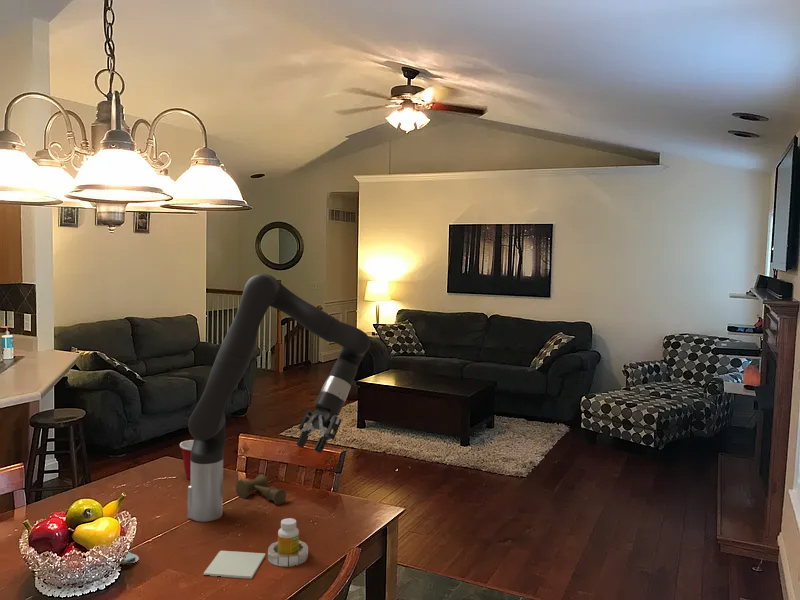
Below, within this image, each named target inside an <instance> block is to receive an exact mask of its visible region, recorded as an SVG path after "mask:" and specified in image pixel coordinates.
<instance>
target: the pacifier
mask: <svg viewBox="0 0 800 600" xmlns="http://www.w3.org/2000/svg"><path fill="white" fill-rule="evenodd" d="M138 560H139V561H140V557H139V556H138V555H137V554H134V553H131V552H130V551H128V554H127V555H126V558H125V559H124V561H123V562H122V563H135V562H137V561H138ZM139 561H138V562H139ZM138 562H137V563H138ZM135 564H136V563H135Z"/></svg>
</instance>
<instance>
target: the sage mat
mask: <svg viewBox="0 0 800 600" xmlns="http://www.w3.org/2000/svg"><path fill="white" fill-rule="evenodd" d="M265 557H266V553H263V552H249V551H236V550H235V551H234V550H233V551H232V550H230V551H229V550H220V551H219V552H218V553H217V554H216V556H215V557H214V559H213V560H212V561H211V562H210V564H209V565H208V567H206V569H205V571H204V572H203V575H210V576H209V577H217V576H221V577H220V578H234V579H250V580H252V579H253V577H254V575H255V574H256V573H257V571H258V569H259V567H260V565H261V564H262V562H263V560H264V559H265Z"/></svg>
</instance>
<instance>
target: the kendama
mask: <svg viewBox="0 0 800 600" xmlns="http://www.w3.org/2000/svg"><path fill="white" fill-rule="evenodd" d="M235 491H236V494H237V496H238V498H240V499H241V498H242V499H248V497H249V495H250V493H252V492H254V491H258V492H260V493H261V494H262V495H263V496H265V499H266V500H267V501H273V503H274V504H275V505H277V506H278V505H279V506H280V505H282V504H284V502H285V501H286V498H287V490H286V489H285V488H279V489H278V488H277V486H274V485H273V486H270V487H269V479H268V477H267V476H266V475H265V474H262V473H259V474H257V476H256V477H255V478H254V479H253V480H249V481H248V480H245V479H238V480H237V481H236V484H235Z"/></svg>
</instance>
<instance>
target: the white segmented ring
mask: <svg viewBox="0 0 800 600" xmlns="http://www.w3.org/2000/svg"><path fill="white" fill-rule="evenodd" d="M308 556H309V546H308V544H307V543H306V542H304V541H303V540H300V539H299V552H298V553H296V554H290V555H283V554H279V553H278V540H277V541H275V542H273V543H271V544H270V545H269V547H268V548H267V560H268V562H269V563H270V564H272V565H274V566H277V567H286V568H290V567H294V566H295V565H296V566H299V565H301V564H304V563H305V562H306V561H307V560H308Z"/></svg>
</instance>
